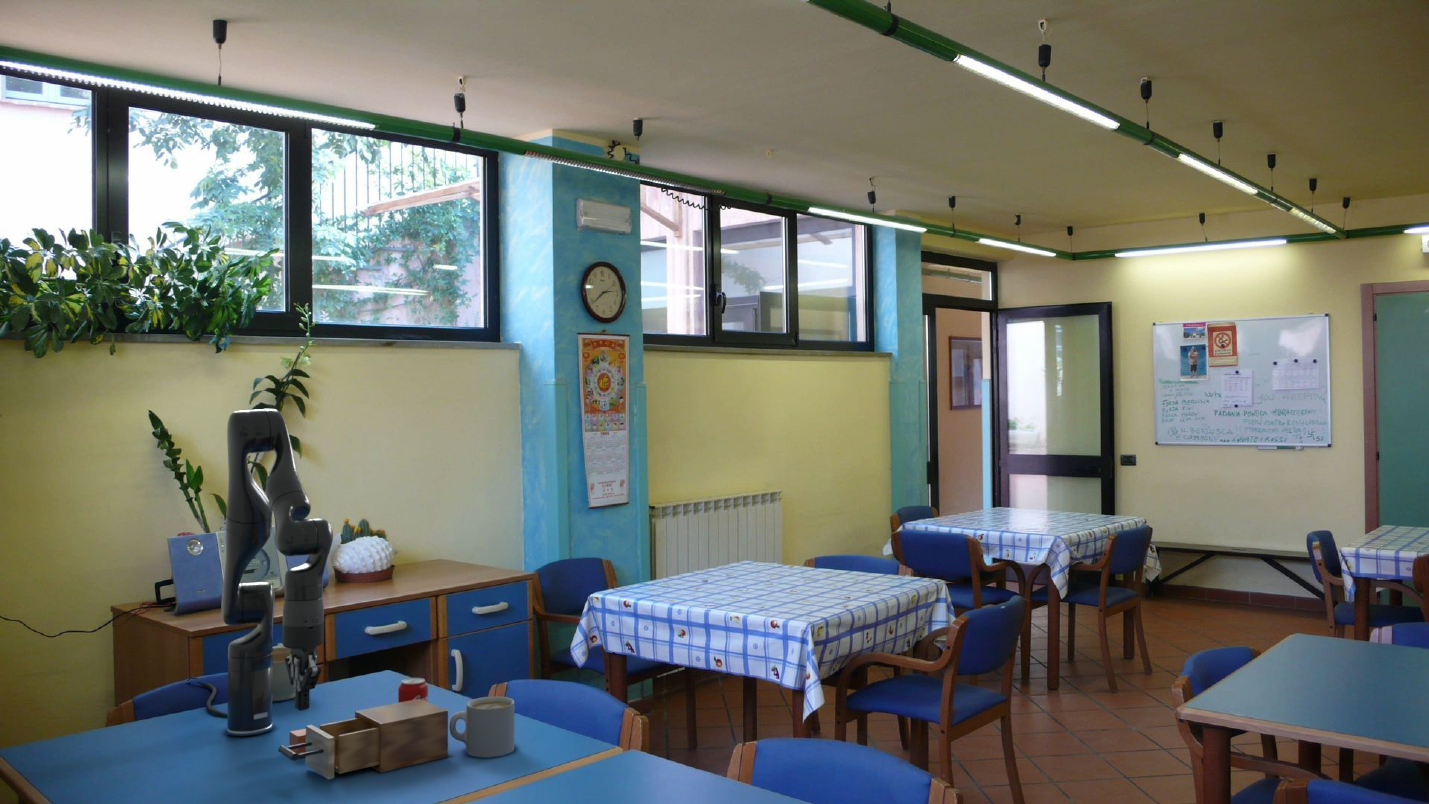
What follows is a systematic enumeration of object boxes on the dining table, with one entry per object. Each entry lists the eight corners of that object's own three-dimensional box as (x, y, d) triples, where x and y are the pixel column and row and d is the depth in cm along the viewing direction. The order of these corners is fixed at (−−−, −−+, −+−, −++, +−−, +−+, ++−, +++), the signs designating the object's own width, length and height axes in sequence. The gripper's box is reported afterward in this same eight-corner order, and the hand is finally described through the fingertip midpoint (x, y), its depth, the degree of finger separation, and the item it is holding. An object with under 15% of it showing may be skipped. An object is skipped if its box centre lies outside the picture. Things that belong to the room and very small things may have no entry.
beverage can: (419, 739, 228) (419, 684, 229) (392, 737, 230) (393, 683, 230) (432, 731, 235) (432, 677, 235) (406, 729, 236) (407, 676, 236)
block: (289, 753, 219) (289, 731, 219) (310, 748, 222) (310, 727, 222) (297, 758, 216) (297, 736, 216) (318, 753, 219) (319, 732, 219)
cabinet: (381, 772, 207) (381, 724, 207) (354, 757, 216) (354, 711, 216) (447, 756, 217) (448, 710, 217) (419, 743, 226) (420, 698, 226)
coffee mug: (519, 743, 226) (519, 697, 226) (506, 758, 216) (507, 709, 216) (459, 741, 227) (459, 695, 227) (443, 756, 217) (444, 708, 217)
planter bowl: (228, 704, 256) (228, 660, 257) (266, 687, 272) (267, 646, 273) (288, 707, 254) (288, 662, 254) (323, 690, 270) (324, 648, 270)
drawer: (295, 786, 196) (296, 745, 196) (273, 771, 205) (274, 731, 205) (394, 763, 209) (394, 725, 210) (370, 750, 218) (370, 713, 218)
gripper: (271, 618, 207) (270, 705, 207) (296, 628, 197) (295, 720, 197) (309, 613, 212) (308, 698, 212) (335, 623, 202) (334, 713, 202)
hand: (302, 709), depth 204 cm, fingers closed
